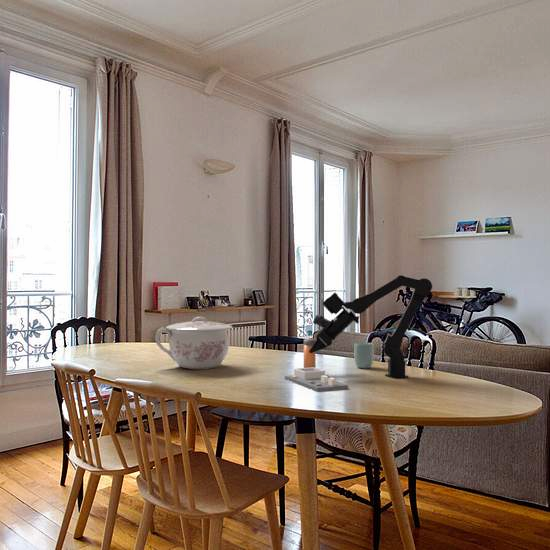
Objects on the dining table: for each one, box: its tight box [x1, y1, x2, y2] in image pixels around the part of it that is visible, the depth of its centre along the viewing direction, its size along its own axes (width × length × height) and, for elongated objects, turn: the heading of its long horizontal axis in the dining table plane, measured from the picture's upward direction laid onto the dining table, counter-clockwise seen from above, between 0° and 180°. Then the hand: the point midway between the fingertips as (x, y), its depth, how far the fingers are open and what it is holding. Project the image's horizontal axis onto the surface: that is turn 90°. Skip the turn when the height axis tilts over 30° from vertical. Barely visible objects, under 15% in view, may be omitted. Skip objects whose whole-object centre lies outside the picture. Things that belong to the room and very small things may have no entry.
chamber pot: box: [154, 316, 234, 370], centre depth 230 cm, size 28×28×21 cm
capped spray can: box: [303, 338, 317, 368], centre depth 216 cm, size 5×5×13 cm
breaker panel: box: [284, 367, 349, 392], centre depth 196 cm, size 24×12×4 cm, turn 25°
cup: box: [353, 341, 375, 369], centre depth 230 cm, size 8×8×10 cm
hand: (311, 350), depth 216 cm, fingers open, 9 cm apart
